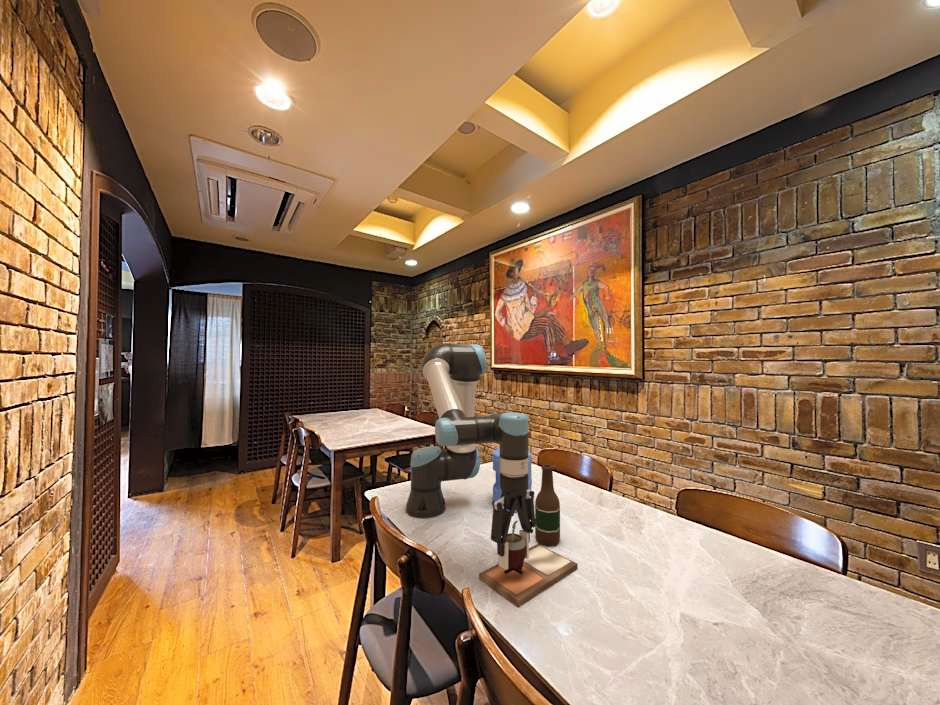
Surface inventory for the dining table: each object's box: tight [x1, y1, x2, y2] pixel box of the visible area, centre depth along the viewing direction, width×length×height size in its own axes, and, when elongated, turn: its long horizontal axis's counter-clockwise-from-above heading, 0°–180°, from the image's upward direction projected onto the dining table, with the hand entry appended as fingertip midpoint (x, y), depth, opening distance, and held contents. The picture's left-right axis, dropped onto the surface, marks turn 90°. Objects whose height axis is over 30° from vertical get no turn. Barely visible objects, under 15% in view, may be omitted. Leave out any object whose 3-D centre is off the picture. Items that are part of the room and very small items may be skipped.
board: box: [478, 543, 578, 608], centre depth 97 cm, size 14×24×2 cm, turn 130°
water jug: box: [491, 447, 533, 513], centre depth 144 cm, size 16×16×28 cm
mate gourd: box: [504, 520, 527, 574], centre depth 94 cm, size 8×8×15 cm
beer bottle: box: [534, 464, 561, 548], centre depth 115 cm, size 8×8×24 cm
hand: (514, 561), depth 94 cm, fingers closed on mate gourd, 7 cm apart
